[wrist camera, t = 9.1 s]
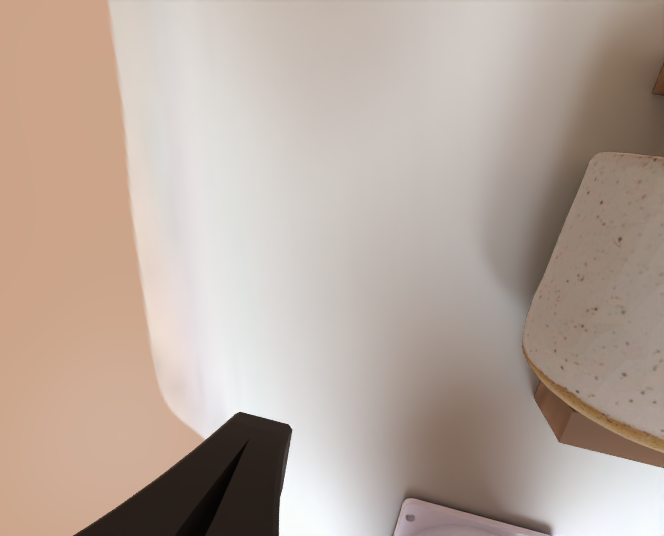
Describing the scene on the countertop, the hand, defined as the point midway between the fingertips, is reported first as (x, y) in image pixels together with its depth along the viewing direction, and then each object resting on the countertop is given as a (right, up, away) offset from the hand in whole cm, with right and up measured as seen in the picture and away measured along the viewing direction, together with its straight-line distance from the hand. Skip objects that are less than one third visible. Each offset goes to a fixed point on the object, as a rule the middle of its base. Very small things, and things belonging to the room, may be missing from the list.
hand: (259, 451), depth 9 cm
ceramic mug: (+15, +4, +7) cm, 17 cm away
